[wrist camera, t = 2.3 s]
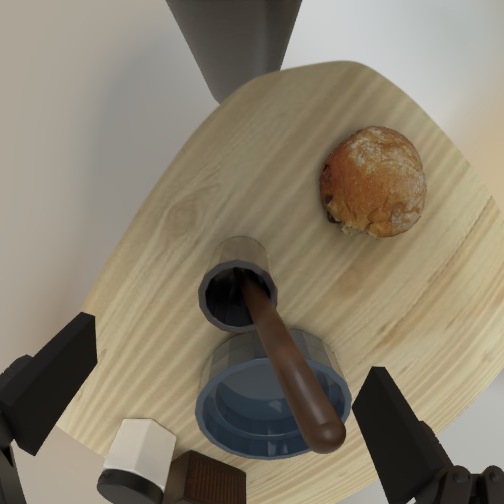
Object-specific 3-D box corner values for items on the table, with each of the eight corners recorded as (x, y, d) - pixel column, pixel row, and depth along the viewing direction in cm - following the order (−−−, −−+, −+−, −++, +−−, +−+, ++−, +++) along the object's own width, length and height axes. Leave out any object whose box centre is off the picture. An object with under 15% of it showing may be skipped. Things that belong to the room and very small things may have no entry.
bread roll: (395, 211, 30) (455, 206, 23) (337, 261, 27) (403, 267, 20) (359, 128, 28) (416, 106, 21) (289, 164, 25) (349, 137, 17)
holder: (216, 230, 27) (204, 253, 19) (276, 242, 27) (286, 269, 20) (207, 285, 28) (192, 324, 21) (263, 296, 29) (268, 338, 21)
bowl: (213, 311, 29) (205, 342, 23) (356, 334, 30) (375, 365, 24) (196, 414, 33) (189, 449, 27) (312, 428, 34) (320, 462, 28)
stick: (233, 256, 27) (321, 439, 8) (250, 259, 27) (359, 432, 9) (230, 273, 27) (306, 464, 9) (247, 275, 28) (342, 457, 9)
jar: (122, 407, 33) (92, 473, 21) (180, 427, 34) (163, 498, 22) (121, 442, 35) (98, 500, 23) (171, 458, 36) (157, 520, 24)
